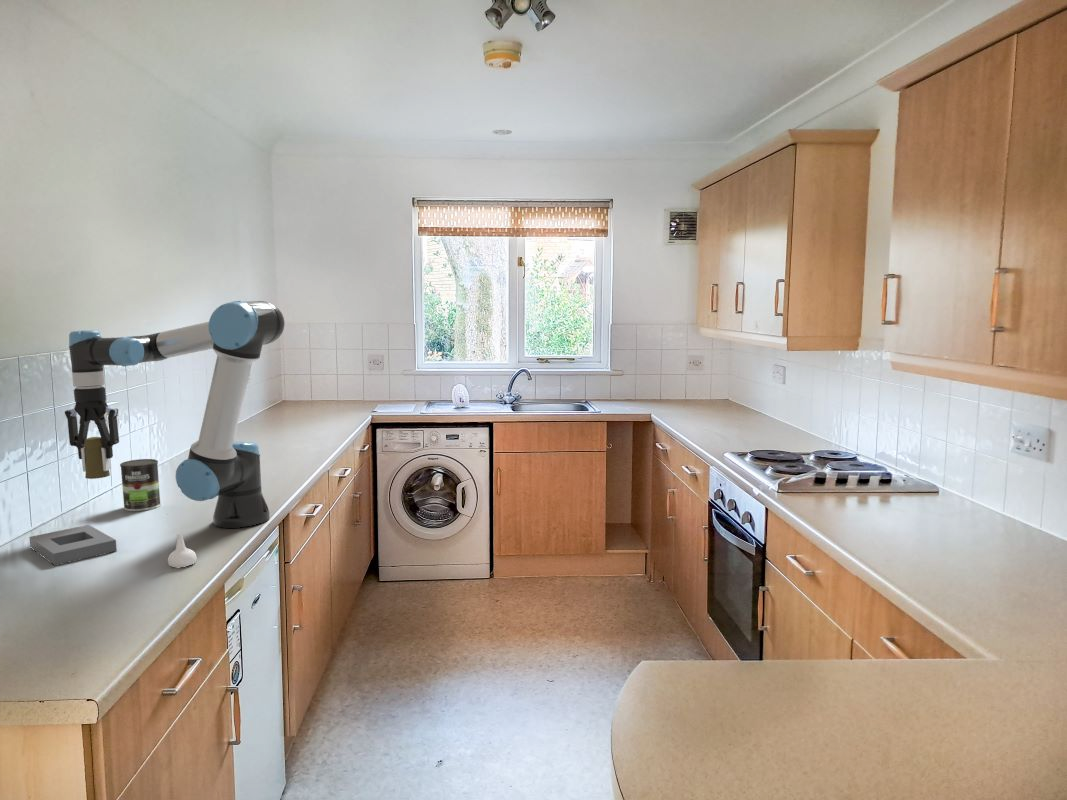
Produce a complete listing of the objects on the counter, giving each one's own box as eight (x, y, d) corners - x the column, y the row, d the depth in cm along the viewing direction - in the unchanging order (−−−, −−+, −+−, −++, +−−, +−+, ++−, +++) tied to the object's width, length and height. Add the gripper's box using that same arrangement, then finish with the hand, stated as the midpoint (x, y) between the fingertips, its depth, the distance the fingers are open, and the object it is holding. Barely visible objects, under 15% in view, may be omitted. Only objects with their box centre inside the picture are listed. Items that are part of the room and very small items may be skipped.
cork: (104, 472, 220) (101, 434, 219) (113, 475, 216) (110, 436, 215) (81, 476, 216) (77, 437, 214) (90, 479, 212) (86, 440, 210)
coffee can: (157, 510, 236) (154, 464, 234) (120, 512, 233) (116, 467, 231) (164, 501, 246) (160, 457, 244) (128, 504, 243) (124, 460, 241)
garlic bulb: (189, 560, 192) (185, 529, 191) (202, 563, 188) (198, 531, 187) (164, 567, 187) (160, 535, 186) (176, 571, 183) (172, 537, 182)
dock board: (116, 551, 198) (115, 539, 197) (54, 565, 188) (53, 553, 187) (89, 535, 211) (88, 524, 211) (30, 548, 201) (29, 536, 201)
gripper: (129, 384, 216) (136, 466, 220) (64, 385, 216) (72, 467, 219) (115, 388, 209) (123, 472, 212) (48, 389, 209) (56, 474, 212)
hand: (97, 470), depth 216 cm, fingers closed on cork, 5 cm apart
